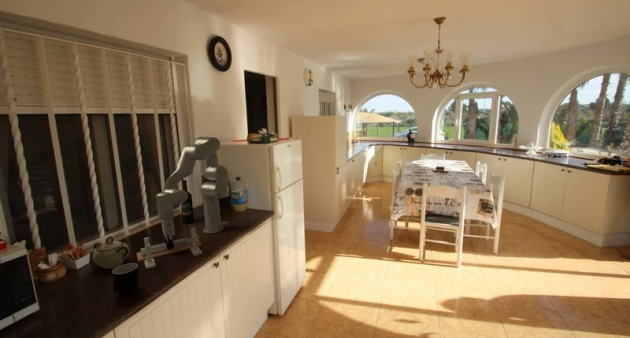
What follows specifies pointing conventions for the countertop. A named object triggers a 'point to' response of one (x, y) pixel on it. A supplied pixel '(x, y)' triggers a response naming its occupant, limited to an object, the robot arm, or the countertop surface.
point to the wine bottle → (187, 207)
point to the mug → (125, 278)
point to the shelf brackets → (150, 262)
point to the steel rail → (164, 246)
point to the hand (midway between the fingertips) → (169, 246)
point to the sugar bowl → (110, 253)
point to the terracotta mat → (167, 251)
